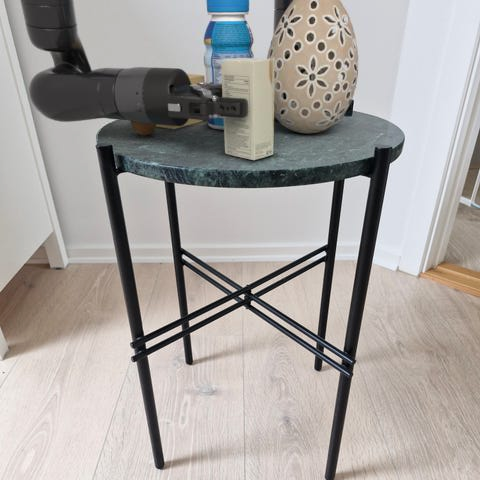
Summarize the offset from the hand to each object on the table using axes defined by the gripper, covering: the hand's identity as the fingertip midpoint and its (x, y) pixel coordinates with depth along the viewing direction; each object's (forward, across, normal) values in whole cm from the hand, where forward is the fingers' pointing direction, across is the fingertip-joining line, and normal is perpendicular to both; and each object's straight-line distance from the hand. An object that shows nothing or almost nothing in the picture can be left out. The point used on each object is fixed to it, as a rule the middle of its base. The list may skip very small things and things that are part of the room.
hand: (257, 102), depth 61 cm
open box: (-23, +17, +7) cm, 29 cm away
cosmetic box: (-1, 0, +7) cm, 7 cm away
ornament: (+3, +16, +7) cm, 18 cm away
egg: (-22, +5, +7) cm, 24 cm away
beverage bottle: (-11, +17, +7) cm, 21 cm away
